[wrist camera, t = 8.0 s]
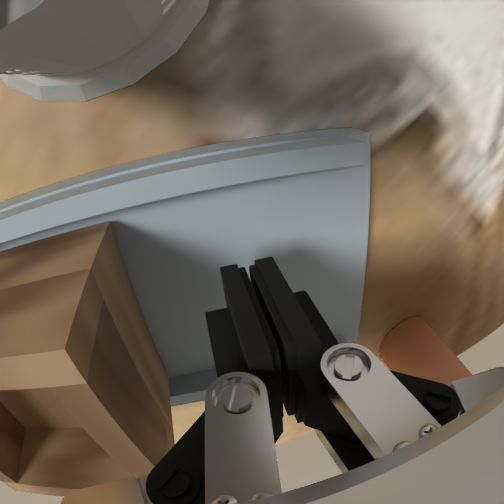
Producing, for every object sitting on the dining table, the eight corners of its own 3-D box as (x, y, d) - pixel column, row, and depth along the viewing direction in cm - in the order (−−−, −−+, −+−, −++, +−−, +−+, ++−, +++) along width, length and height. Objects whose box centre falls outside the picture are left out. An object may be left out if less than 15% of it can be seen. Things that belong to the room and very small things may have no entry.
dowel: (429, 309, 20) (536, 431, 10) (418, 348, 22) (504, 462, 12) (384, 327, 19) (491, 472, 9) (375, 366, 21) (459, 497, 11)
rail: (351, 127, 13) (452, 161, 7) (345, 324, 18) (397, 400, 13) (-62, 229, 10) (-129, 298, 5) (28, 387, 15) (10, 467, 10)
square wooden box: (109, 220, 10) (64, 349, 5) (168, 374, 14) (181, 493, 9) (-45, 266, 9) (-115, 365, 4) (34, 391, 13) (15, 490, 8)
